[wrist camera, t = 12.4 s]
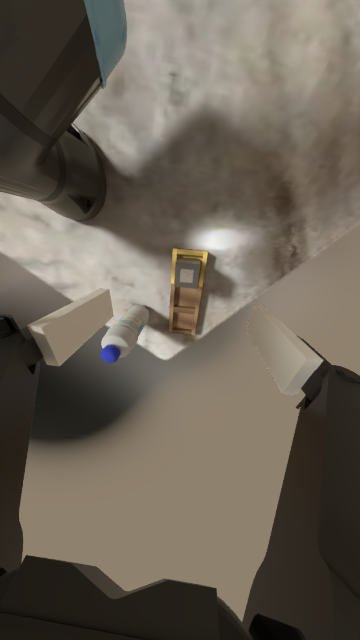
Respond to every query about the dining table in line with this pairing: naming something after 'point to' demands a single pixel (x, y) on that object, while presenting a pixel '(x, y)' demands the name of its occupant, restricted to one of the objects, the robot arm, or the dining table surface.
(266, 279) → the dining table surface
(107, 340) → the bottle
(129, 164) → the dining table surface
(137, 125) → the dining table surface
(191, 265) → the block
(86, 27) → the robot arm
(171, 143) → the dining table surface
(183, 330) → the wooden compartment tray
